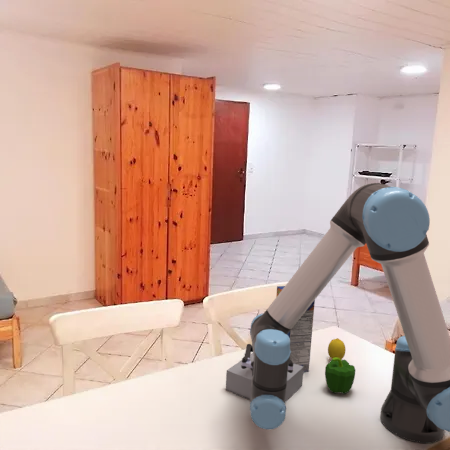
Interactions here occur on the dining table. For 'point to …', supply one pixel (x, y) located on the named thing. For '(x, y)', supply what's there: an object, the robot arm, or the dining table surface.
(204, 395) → the dining table surface
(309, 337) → the juice carton
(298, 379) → the hole block
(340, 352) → the lemon
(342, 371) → the bell pepper
